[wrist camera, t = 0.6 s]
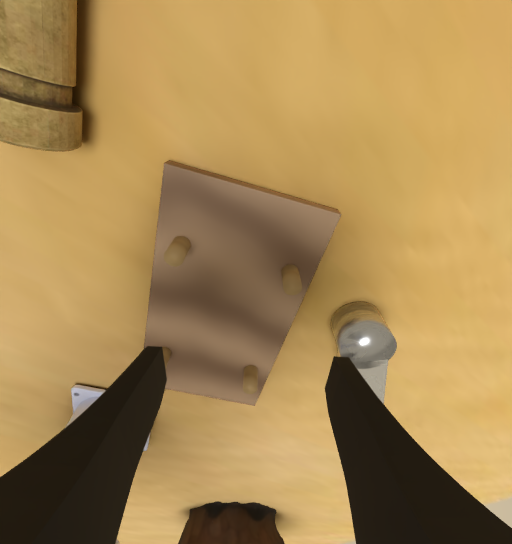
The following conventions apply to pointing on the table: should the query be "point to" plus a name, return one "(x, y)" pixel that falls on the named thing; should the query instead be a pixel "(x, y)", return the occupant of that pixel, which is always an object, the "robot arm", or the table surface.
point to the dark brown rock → (231, 524)
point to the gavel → (39, 74)
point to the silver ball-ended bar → (364, 342)
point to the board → (229, 279)
